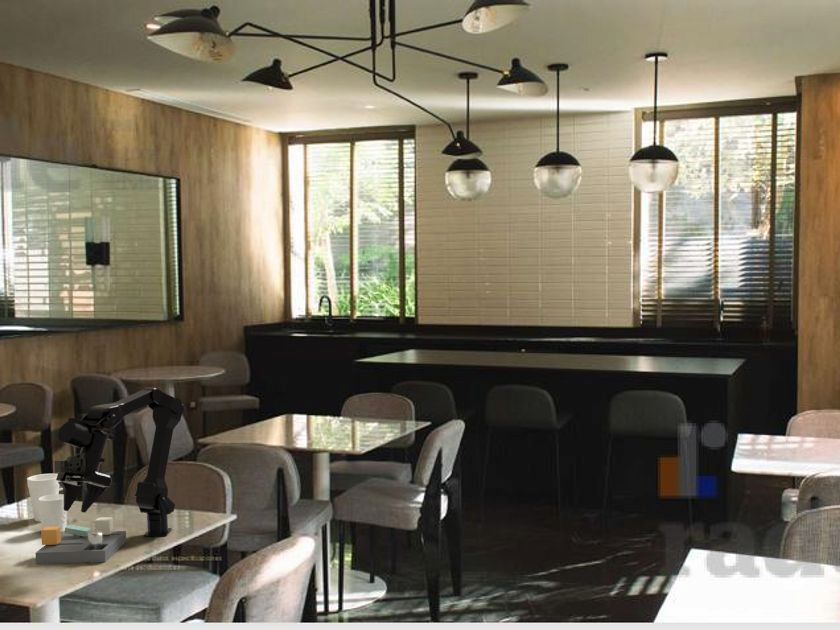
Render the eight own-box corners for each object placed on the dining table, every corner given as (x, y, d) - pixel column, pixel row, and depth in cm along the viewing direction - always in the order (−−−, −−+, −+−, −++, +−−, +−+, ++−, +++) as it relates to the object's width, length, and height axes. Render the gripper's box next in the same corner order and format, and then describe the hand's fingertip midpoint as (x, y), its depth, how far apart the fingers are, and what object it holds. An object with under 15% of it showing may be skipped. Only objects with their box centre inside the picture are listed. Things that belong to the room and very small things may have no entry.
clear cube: (91, 546, 245) (90, 531, 244) (105, 545, 245) (104, 530, 244) (86, 550, 241) (86, 535, 241) (100, 549, 241) (99, 534, 241)
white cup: (58, 535, 265) (57, 501, 265) (34, 534, 267) (32, 500, 267) (74, 527, 273) (72, 494, 273) (50, 526, 275) (48, 493, 274)
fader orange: (46, 541, 248) (45, 526, 247) (61, 541, 248) (60, 526, 247) (41, 544, 245) (41, 530, 244) (56, 544, 245) (56, 529, 244)
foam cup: (29, 516, 287) (27, 475, 286) (61, 513, 290) (59, 472, 289) (29, 524, 278) (27, 481, 277) (62, 520, 281) (60, 478, 281)
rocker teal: (68, 529, 255) (69, 524, 254) (89, 533, 255) (90, 528, 255) (64, 532, 252) (65, 527, 252) (85, 536, 252) (86, 531, 252)
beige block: (98, 531, 256) (98, 517, 256) (113, 531, 256) (112, 517, 256) (95, 534, 253) (94, 520, 253) (109, 534, 253) (109, 520, 253)
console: (61, 543, 257) (61, 531, 257) (126, 541, 258) (125, 529, 257) (36, 564, 239) (35, 550, 239) (105, 562, 240) (104, 548, 239)
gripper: (47, 444, 243) (28, 503, 238) (81, 444, 231) (63, 506, 226) (84, 455, 251) (67, 512, 246) (120, 455, 238) (103, 515, 233)
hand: (74, 511), depth 237 cm, fingers open, 9 cm apart
